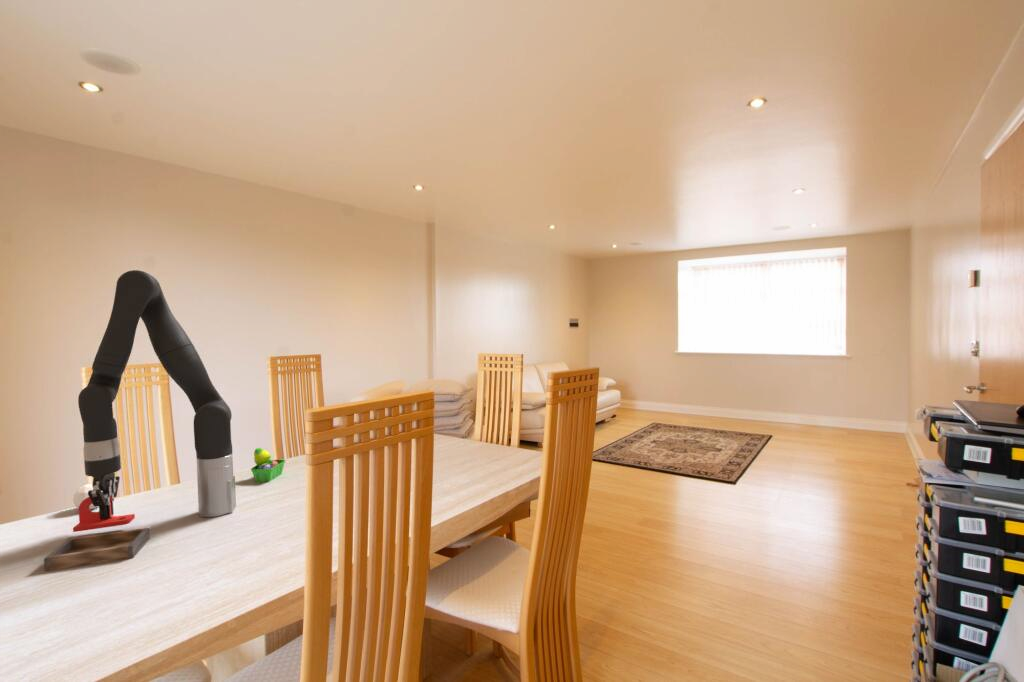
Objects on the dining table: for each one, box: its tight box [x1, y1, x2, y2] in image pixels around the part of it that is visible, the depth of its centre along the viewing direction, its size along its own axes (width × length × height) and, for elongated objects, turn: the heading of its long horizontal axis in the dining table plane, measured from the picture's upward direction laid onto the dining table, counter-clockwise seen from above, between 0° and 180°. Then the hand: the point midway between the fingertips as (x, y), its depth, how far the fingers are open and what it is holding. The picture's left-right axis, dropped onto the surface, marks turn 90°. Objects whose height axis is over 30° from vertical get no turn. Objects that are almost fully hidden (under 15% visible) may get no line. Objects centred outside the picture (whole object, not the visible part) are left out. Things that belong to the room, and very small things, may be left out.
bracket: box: [72, 497, 136, 533], centre depth 130 cm, size 12×4×8 cm, turn 110°
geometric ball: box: [72, 483, 99, 510], centre depth 149 cm, size 8×8×8 cm
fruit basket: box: [250, 447, 286, 483], centre depth 176 cm, size 11×9×11 cm
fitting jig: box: [43, 527, 151, 572], centre depth 119 cm, size 17×11×3 cm, turn 110°
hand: (106, 517), depth 132 cm, fingers closed on bracket, 1 cm apart
